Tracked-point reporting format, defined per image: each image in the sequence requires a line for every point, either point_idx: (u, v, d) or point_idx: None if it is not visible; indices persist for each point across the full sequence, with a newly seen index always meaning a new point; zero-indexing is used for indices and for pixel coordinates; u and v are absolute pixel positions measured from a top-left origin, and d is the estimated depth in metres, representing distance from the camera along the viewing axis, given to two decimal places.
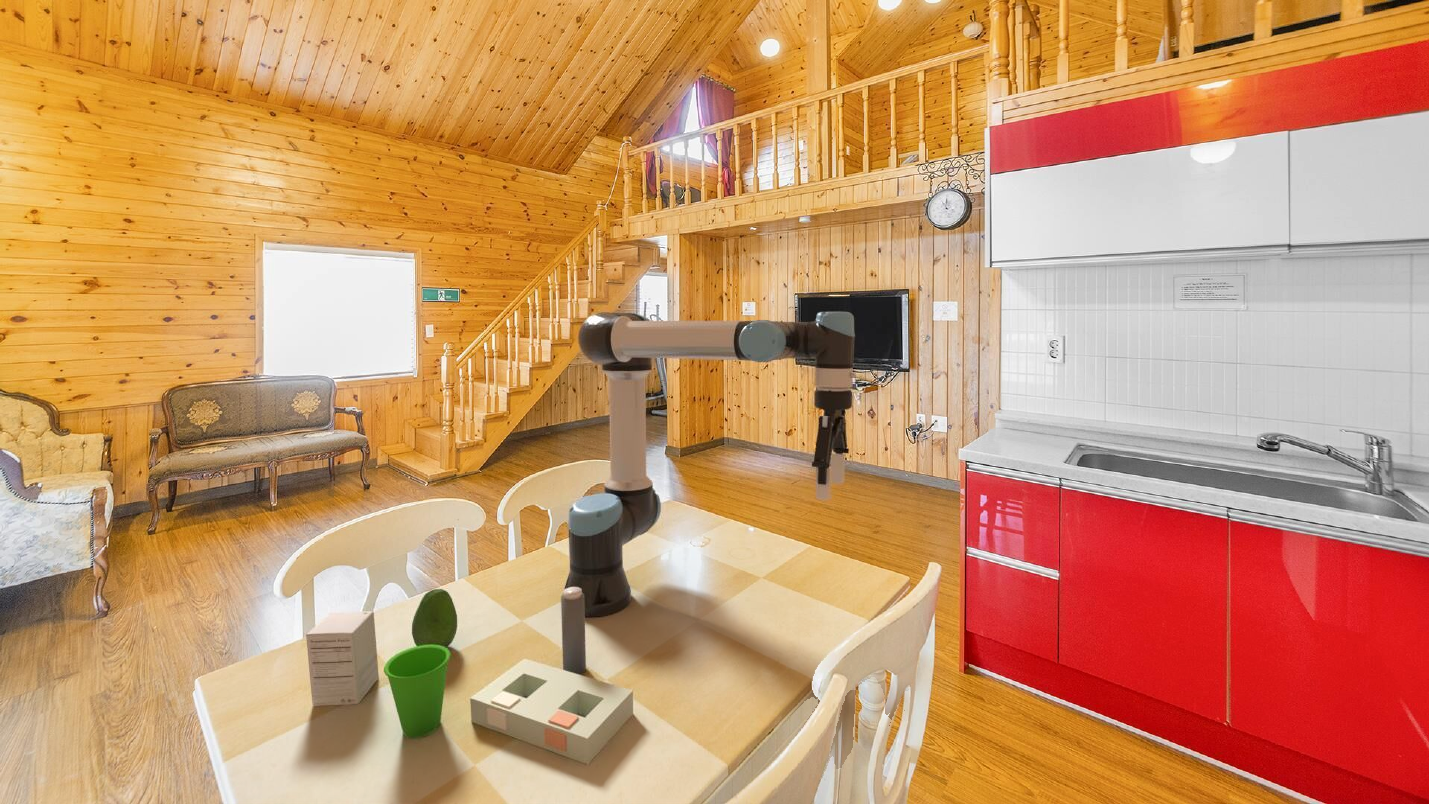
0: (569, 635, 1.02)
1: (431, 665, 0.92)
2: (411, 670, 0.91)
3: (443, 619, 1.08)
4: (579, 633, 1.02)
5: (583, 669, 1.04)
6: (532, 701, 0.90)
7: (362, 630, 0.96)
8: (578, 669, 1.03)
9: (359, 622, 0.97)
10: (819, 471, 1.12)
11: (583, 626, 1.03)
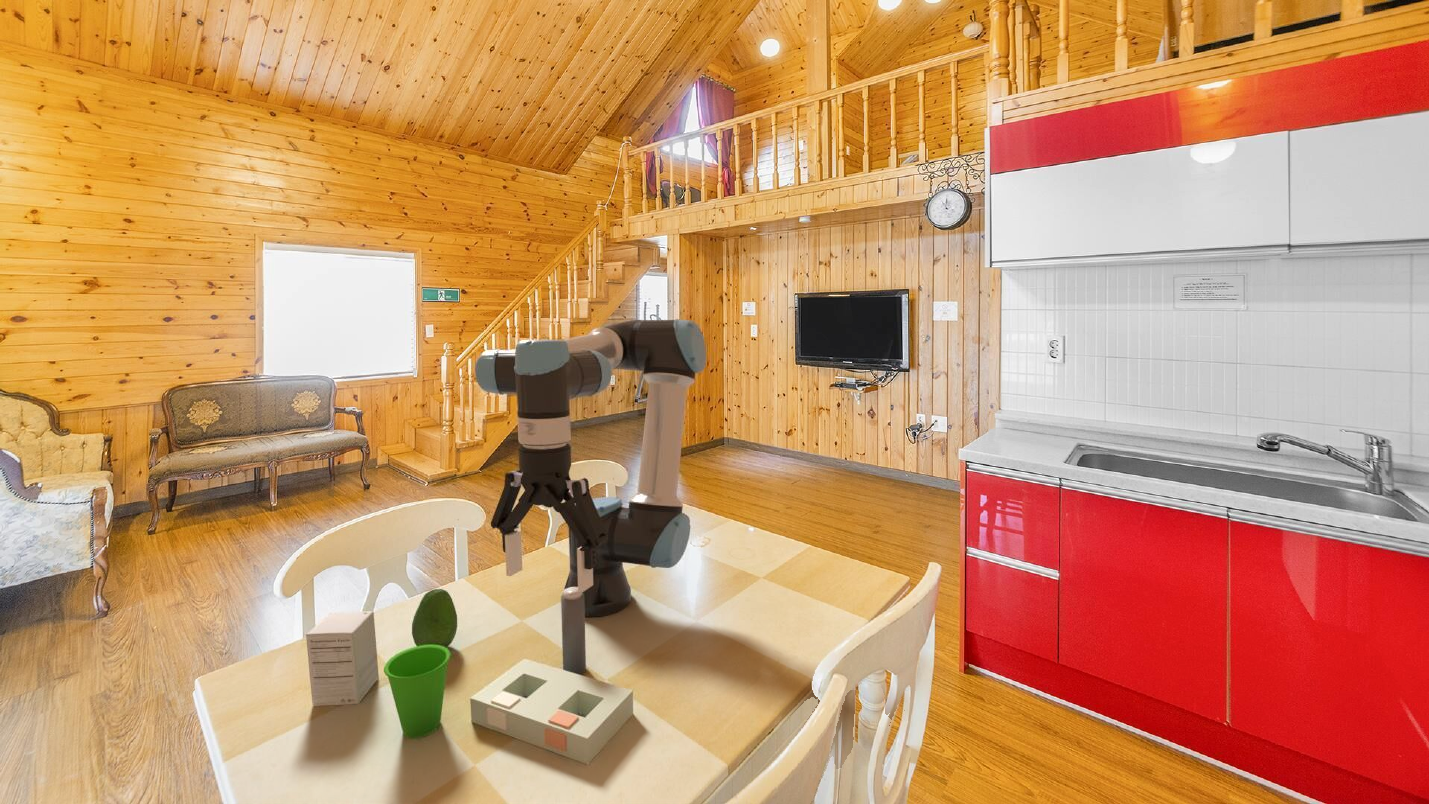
0: (569, 635, 1.02)
1: (431, 665, 0.92)
2: (411, 670, 0.91)
3: (443, 619, 1.08)
4: (579, 633, 1.02)
5: (583, 669, 1.04)
6: (532, 701, 0.90)
7: (362, 630, 0.96)
8: (578, 669, 1.03)
9: (359, 622, 0.97)
10: None
11: (583, 626, 1.03)
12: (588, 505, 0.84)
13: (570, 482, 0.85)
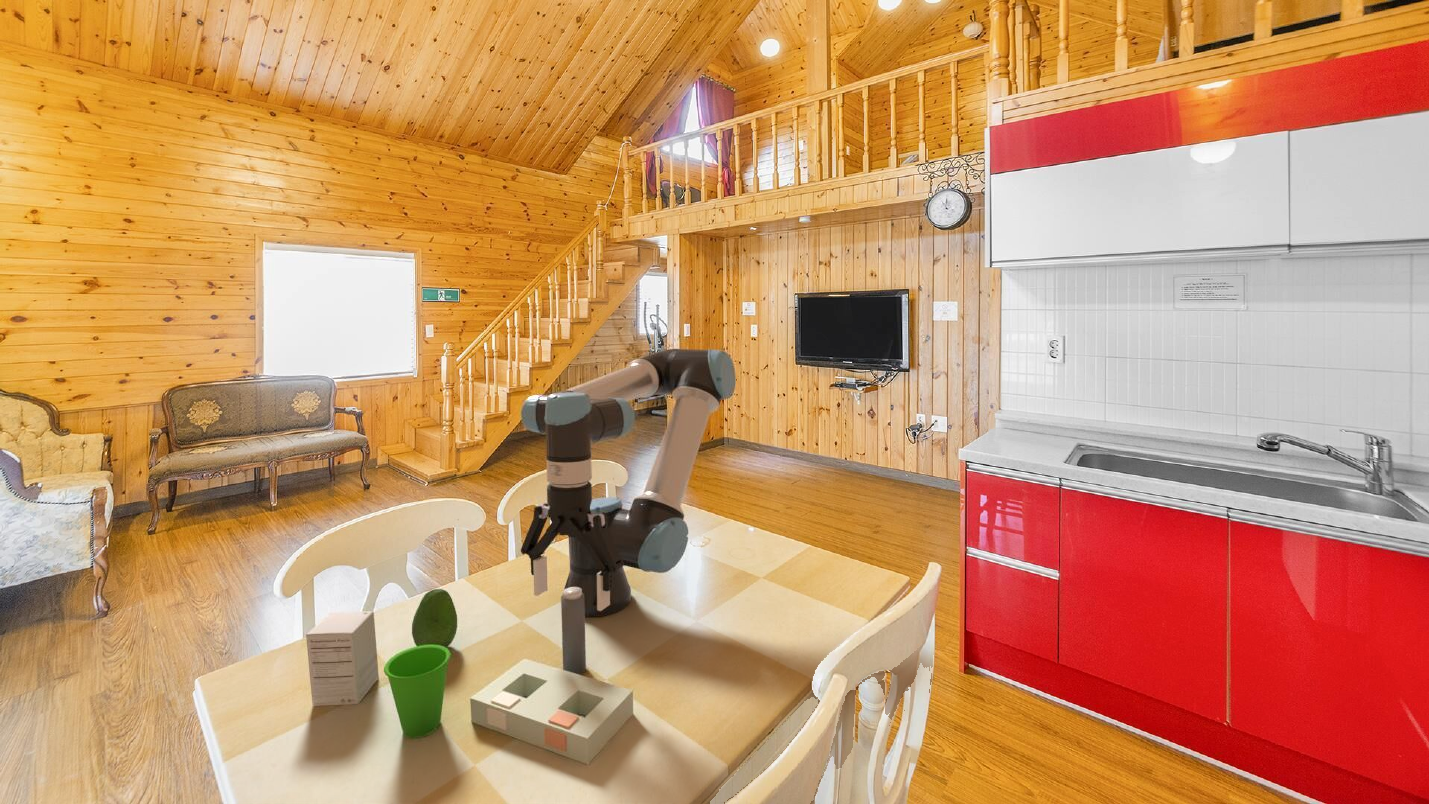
0: (569, 635, 1.02)
1: (431, 665, 0.92)
2: (411, 670, 0.91)
3: (443, 619, 1.08)
4: (579, 633, 1.02)
5: (583, 669, 1.04)
6: (532, 701, 0.90)
7: (362, 630, 0.96)
8: (578, 669, 1.03)
9: (359, 622, 0.97)
10: None
11: (583, 626, 1.03)
12: (607, 536, 0.98)
13: (591, 516, 0.99)
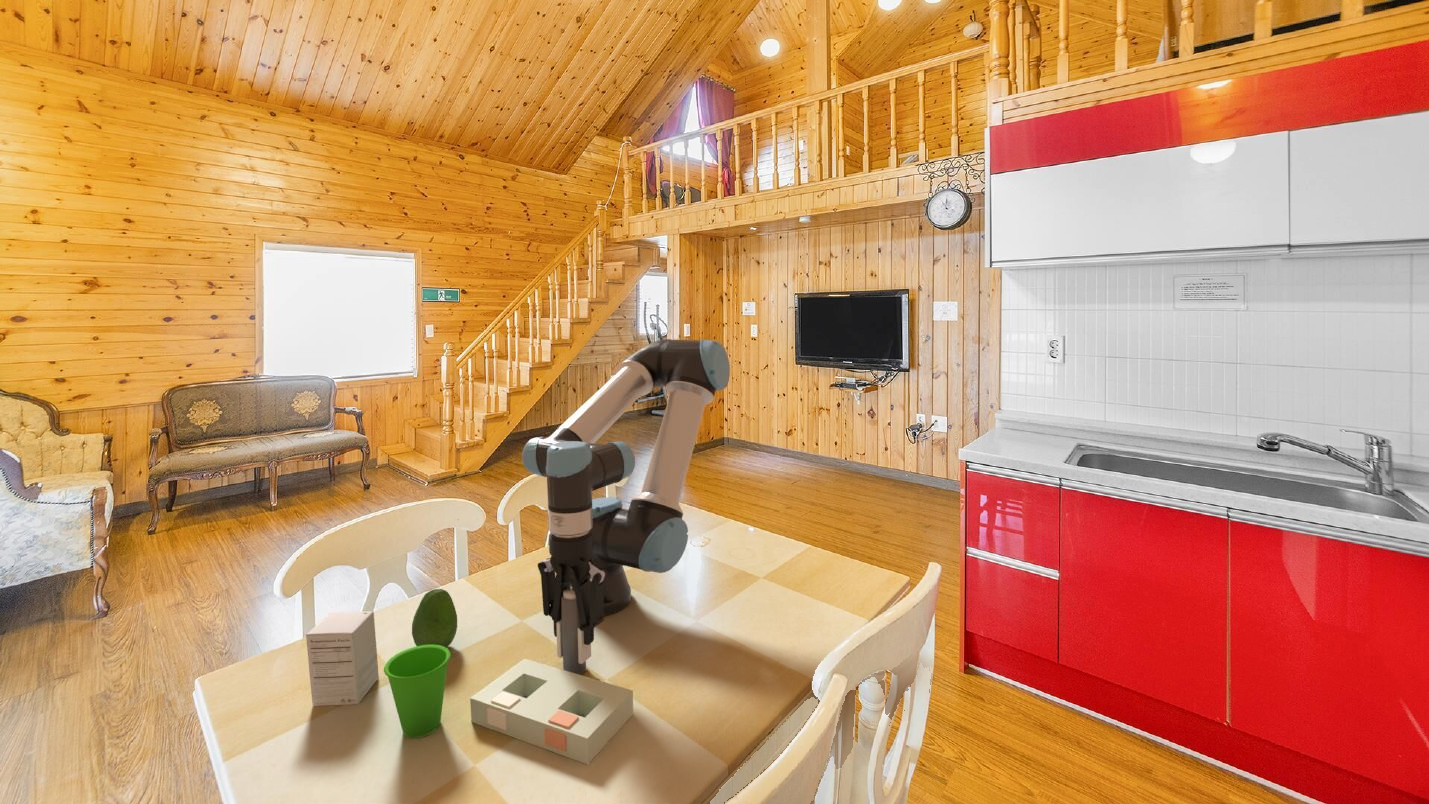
0: (569, 635, 1.02)
1: (431, 665, 0.92)
2: (411, 670, 0.91)
3: (443, 619, 1.08)
4: None
5: (583, 669, 1.04)
6: (532, 701, 0.90)
7: (362, 630, 0.96)
8: (578, 669, 1.03)
9: (359, 622, 0.97)
10: None
11: None
12: (599, 593, 1.00)
13: (593, 570, 1.00)
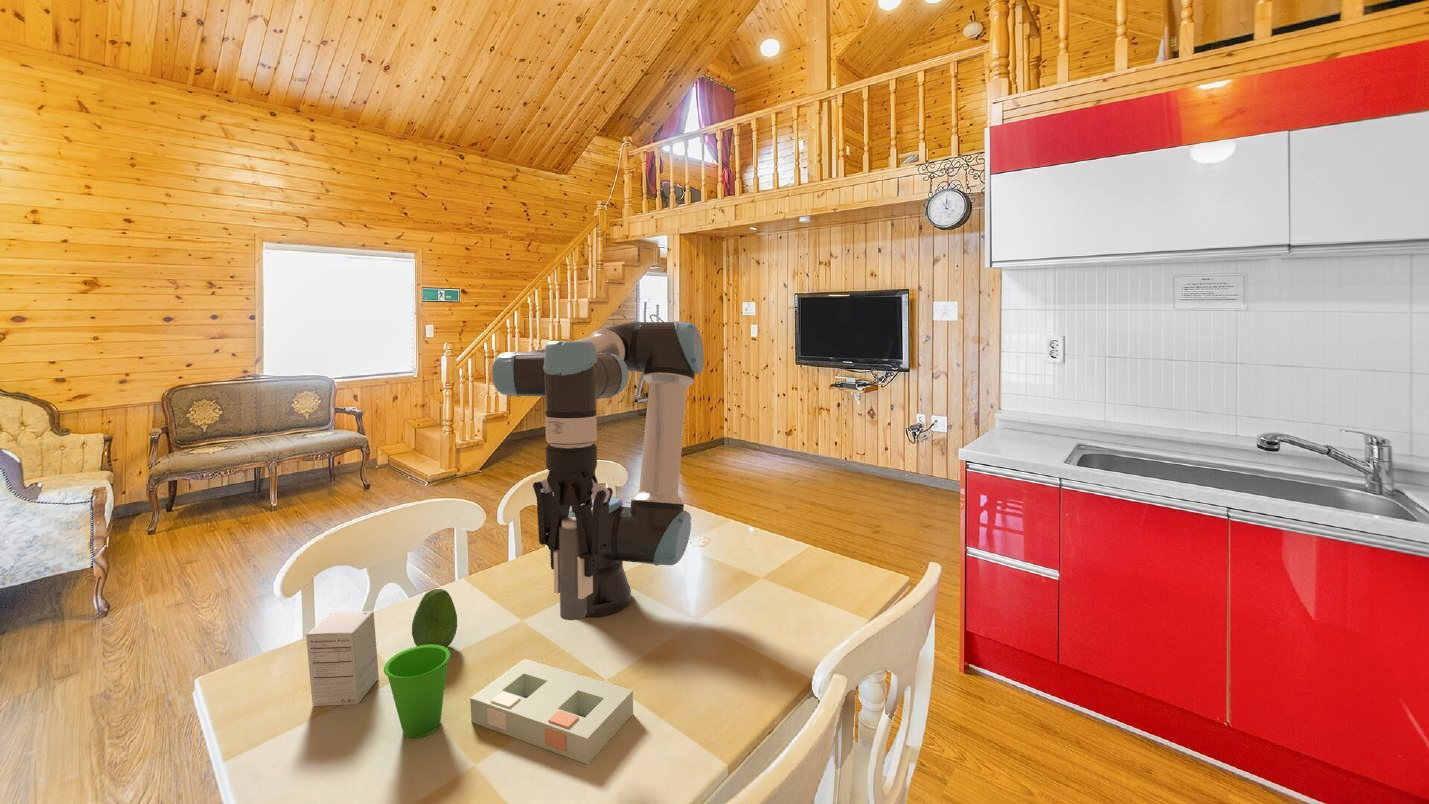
0: (567, 571, 0.88)
1: (431, 665, 0.92)
2: (411, 670, 0.91)
3: (443, 619, 1.08)
4: None
5: (583, 612, 0.90)
6: (532, 701, 0.90)
7: (362, 630, 0.96)
8: (577, 612, 0.89)
9: (359, 622, 0.97)
10: None
11: None
12: (603, 515, 0.86)
13: (596, 487, 0.86)
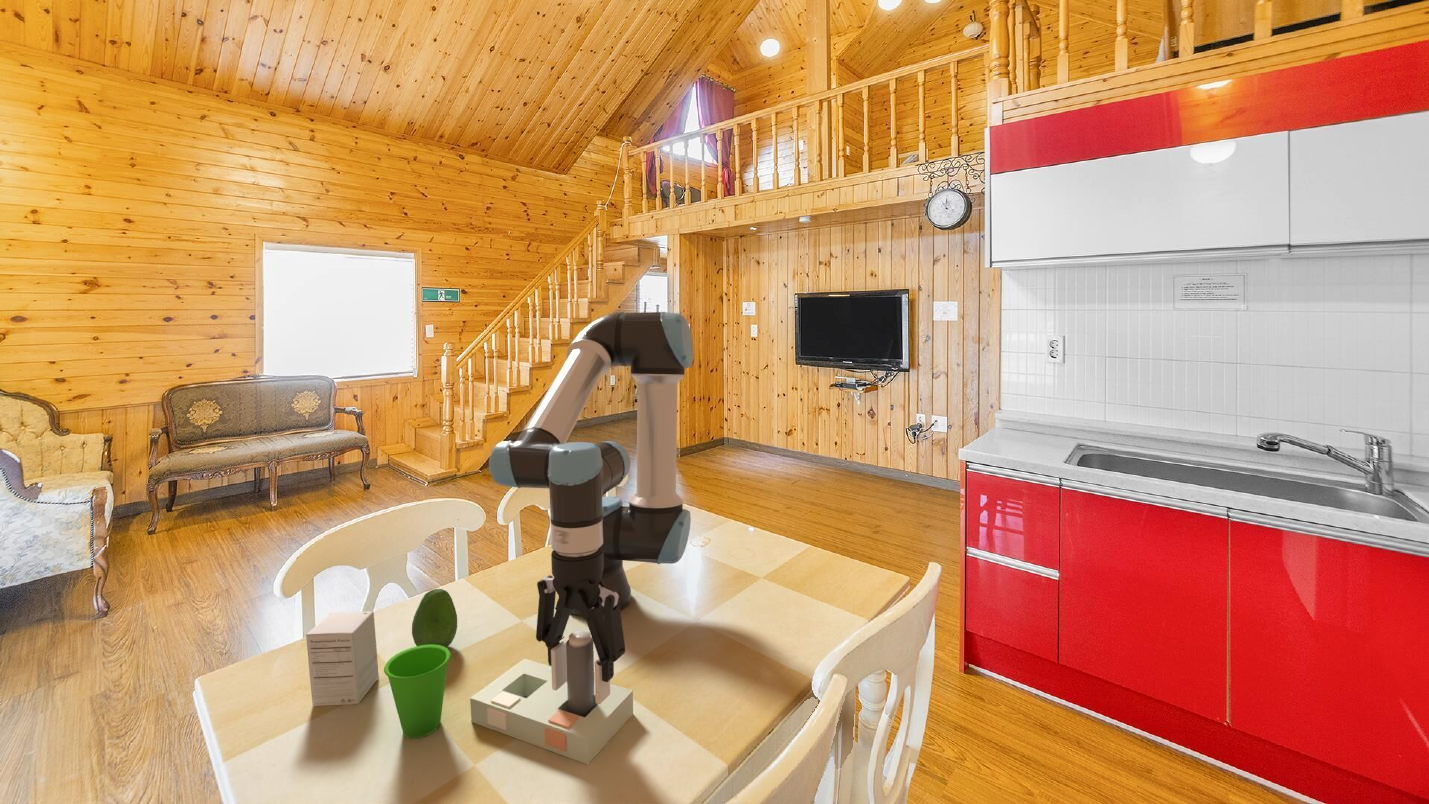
0: (575, 689, 0.87)
1: (431, 665, 0.92)
2: (411, 670, 0.91)
3: (443, 619, 1.08)
4: (588, 686, 0.87)
5: None
6: (532, 701, 0.90)
7: (362, 630, 0.96)
8: None
9: (359, 622, 0.97)
10: None
11: (592, 677, 0.88)
12: (615, 619, 0.85)
13: (604, 592, 0.85)
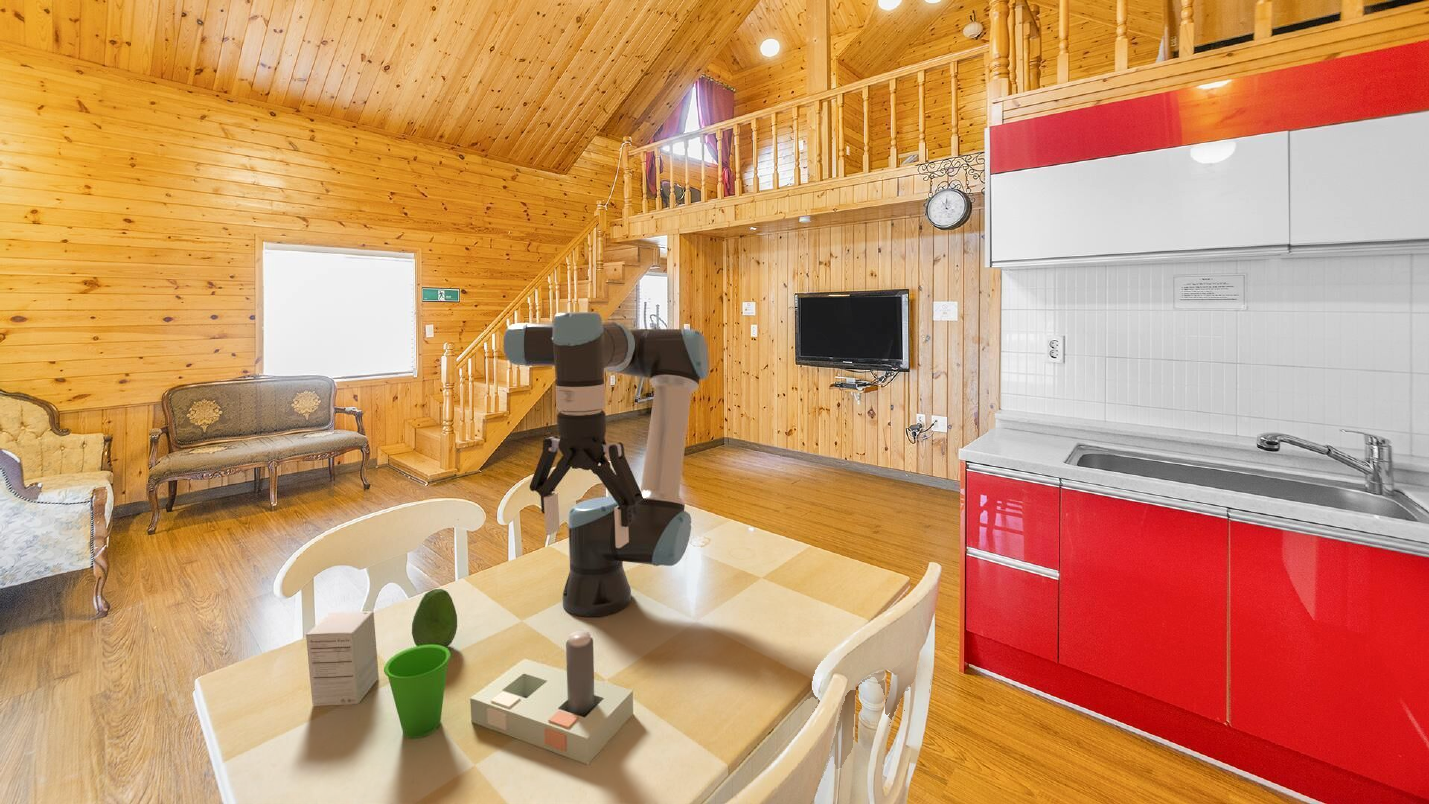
0: (575, 689, 0.87)
1: (431, 665, 0.92)
2: (411, 670, 0.91)
3: (443, 619, 1.08)
4: (588, 686, 0.87)
5: None
6: (532, 701, 0.90)
7: (362, 630, 0.96)
8: None
9: (359, 622, 0.97)
10: None
11: (592, 677, 0.88)
12: (624, 467, 0.90)
13: (606, 446, 0.91)
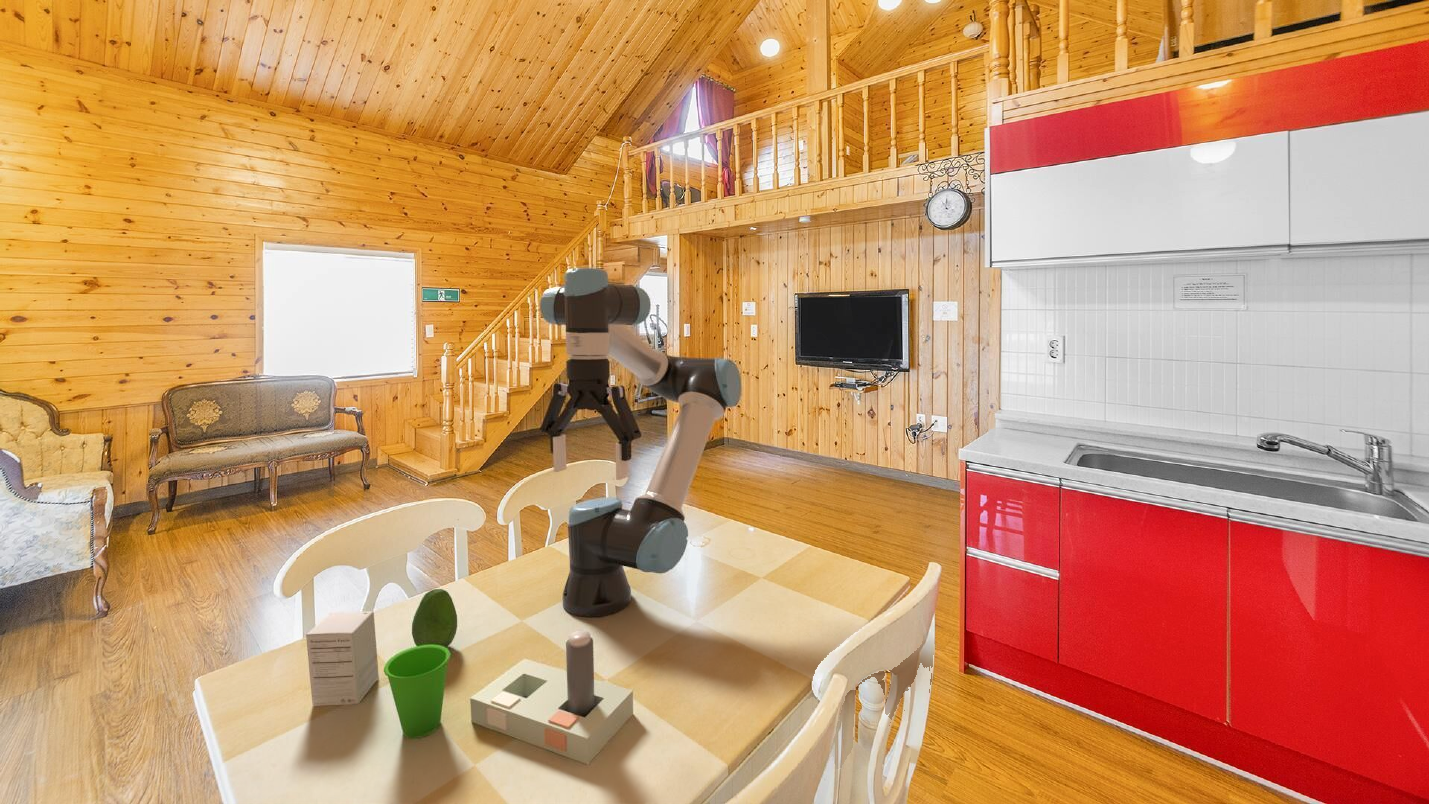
0: (575, 689, 0.87)
1: (431, 665, 0.92)
2: (411, 670, 0.91)
3: (443, 619, 1.08)
4: (588, 686, 0.87)
5: None
6: (532, 701, 0.90)
7: (362, 630, 0.96)
8: None
9: (359, 622, 0.97)
10: None
11: (592, 677, 0.88)
12: (625, 406, 1.01)
13: (610, 388, 1.02)
